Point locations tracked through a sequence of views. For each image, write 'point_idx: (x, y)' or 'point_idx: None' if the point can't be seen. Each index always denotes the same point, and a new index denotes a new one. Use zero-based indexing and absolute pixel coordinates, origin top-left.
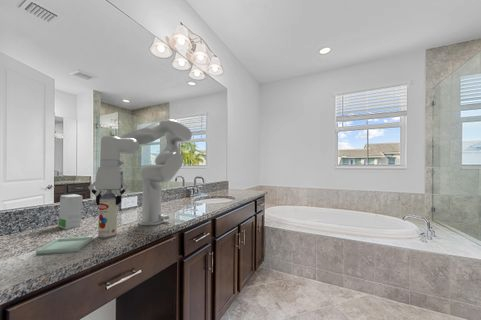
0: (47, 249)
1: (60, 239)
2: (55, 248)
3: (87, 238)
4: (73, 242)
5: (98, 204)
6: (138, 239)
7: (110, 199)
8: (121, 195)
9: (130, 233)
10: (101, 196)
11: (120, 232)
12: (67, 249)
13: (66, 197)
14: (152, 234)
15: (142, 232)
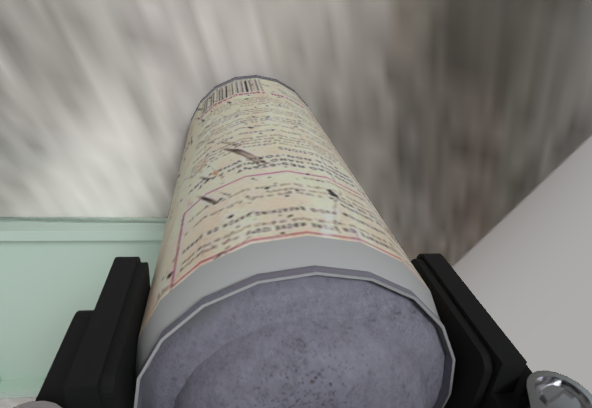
0: (38, 392)
1: None
2: (47, 344)
3: (152, 236)
4: (89, 270)
5: None
6: (457, 251)
7: None
8: (539, 384)
9: (410, 116)
10: (118, 373)
11: (332, 66)
12: None
13: None
14: (546, 175)
15: (493, 111)
